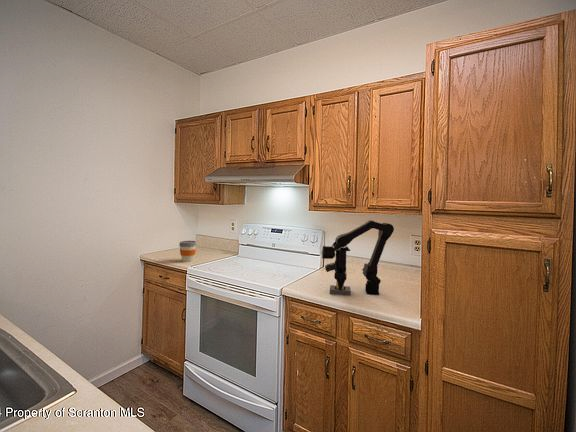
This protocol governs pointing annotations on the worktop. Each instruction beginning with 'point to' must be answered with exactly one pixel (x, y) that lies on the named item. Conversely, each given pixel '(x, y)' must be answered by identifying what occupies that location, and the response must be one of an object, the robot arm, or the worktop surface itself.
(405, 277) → the worktop surface
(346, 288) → the steel rail
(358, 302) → the worktop surface
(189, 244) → the reusable coffee cup
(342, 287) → the brass block
